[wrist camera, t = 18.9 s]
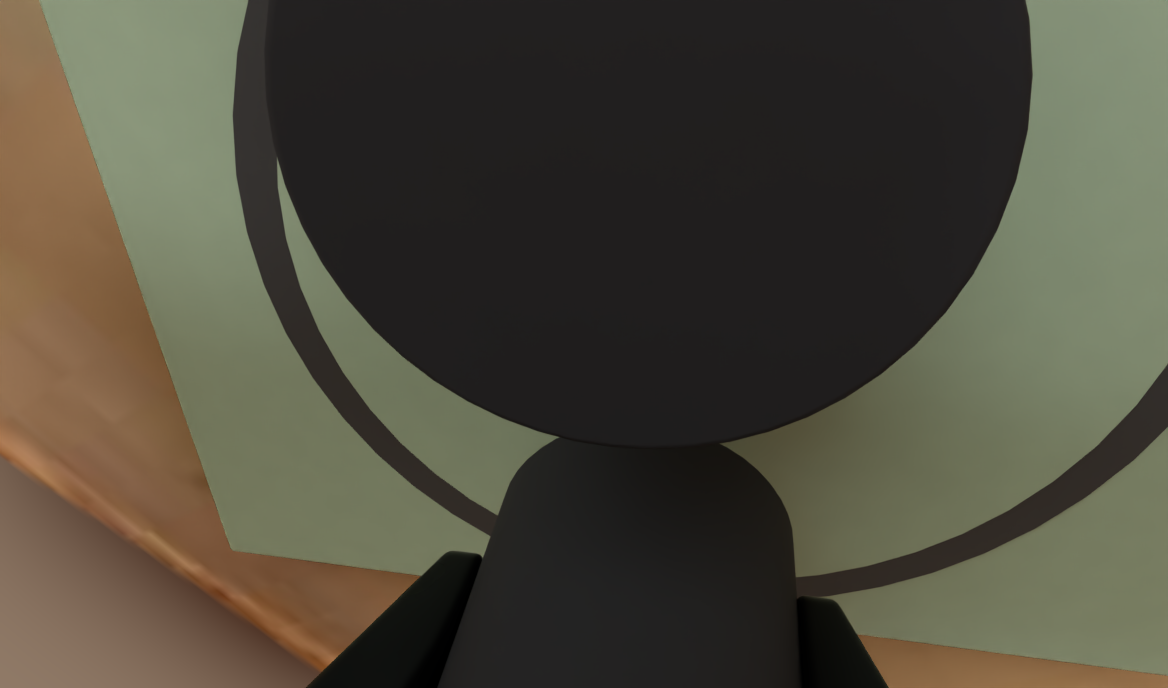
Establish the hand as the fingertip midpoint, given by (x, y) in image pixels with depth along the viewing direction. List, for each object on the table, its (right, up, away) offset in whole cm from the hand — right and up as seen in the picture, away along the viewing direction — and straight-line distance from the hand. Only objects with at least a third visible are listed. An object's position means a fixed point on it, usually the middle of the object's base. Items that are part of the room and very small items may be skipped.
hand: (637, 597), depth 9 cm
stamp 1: (0, +7, -1) cm, 7 cm away
